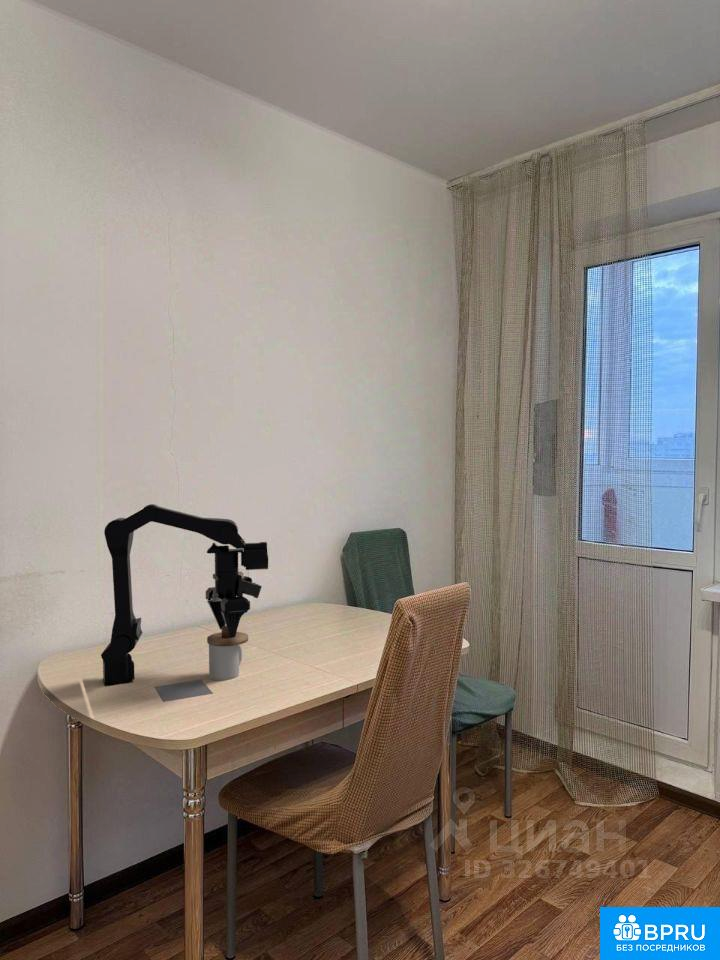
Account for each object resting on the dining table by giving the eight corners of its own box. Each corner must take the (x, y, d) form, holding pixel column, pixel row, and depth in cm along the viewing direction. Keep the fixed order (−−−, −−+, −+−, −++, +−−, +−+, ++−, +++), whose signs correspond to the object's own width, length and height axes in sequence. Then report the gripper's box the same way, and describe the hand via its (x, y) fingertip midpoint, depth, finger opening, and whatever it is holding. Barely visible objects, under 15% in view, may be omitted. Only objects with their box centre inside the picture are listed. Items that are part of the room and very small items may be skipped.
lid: (213, 648, 160) (213, 633, 160) (202, 638, 169) (202, 624, 169) (253, 642, 165) (253, 628, 164) (241, 633, 173) (241, 620, 173)
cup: (203, 679, 164) (202, 643, 164) (230, 668, 173) (229, 634, 173) (225, 684, 161) (225, 647, 161) (252, 672, 170) (251, 637, 169)
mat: (163, 704, 148) (163, 701, 148) (154, 689, 158) (154, 686, 158) (213, 695, 153) (212, 693, 153) (201, 681, 163) (200, 679, 163)
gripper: (270, 573, 162) (271, 637, 162) (246, 563, 178) (246, 621, 179) (225, 577, 156) (225, 643, 157) (204, 566, 173) (205, 626, 174)
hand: (227, 633), depth 167 cm, fingers open, 9 cm apart
